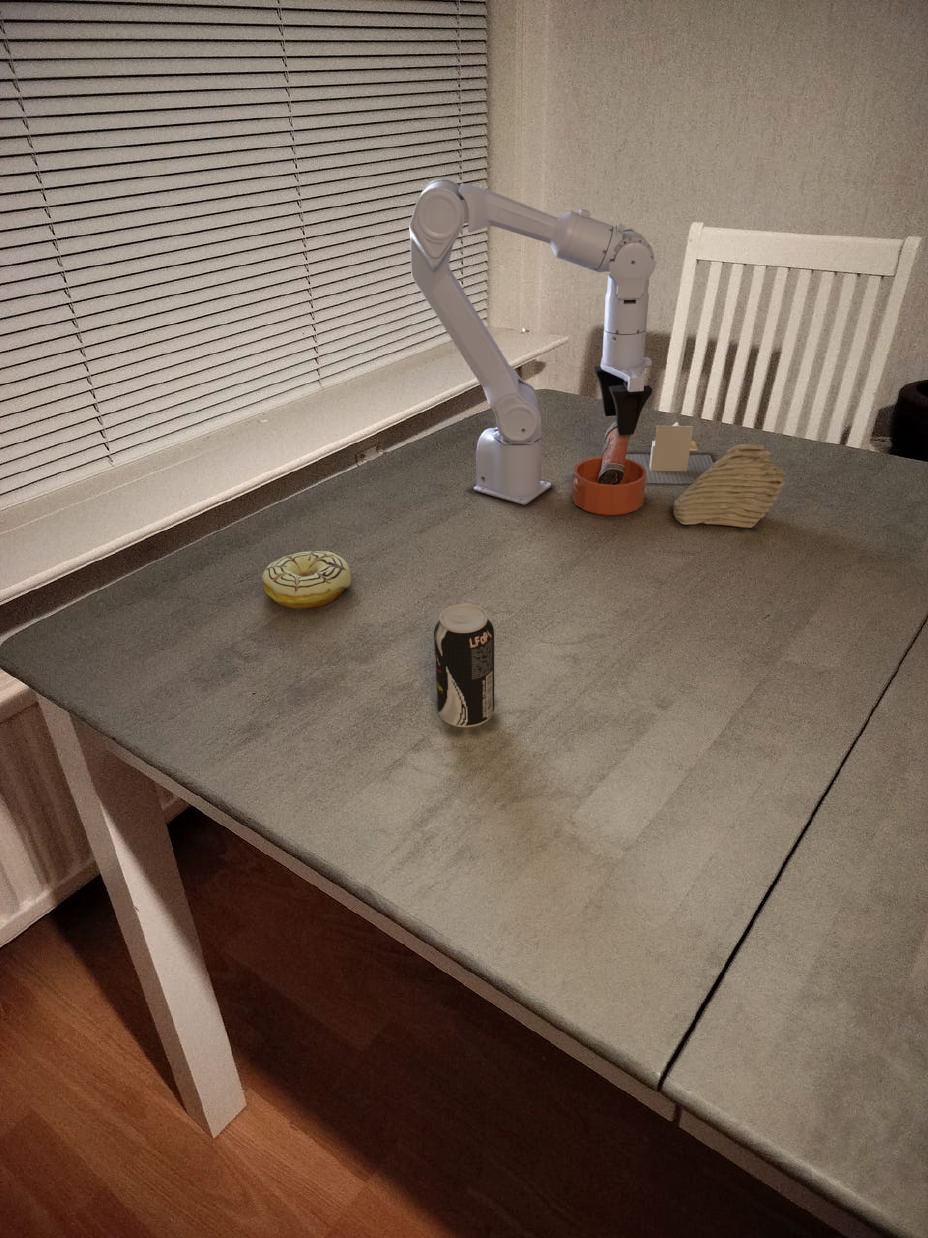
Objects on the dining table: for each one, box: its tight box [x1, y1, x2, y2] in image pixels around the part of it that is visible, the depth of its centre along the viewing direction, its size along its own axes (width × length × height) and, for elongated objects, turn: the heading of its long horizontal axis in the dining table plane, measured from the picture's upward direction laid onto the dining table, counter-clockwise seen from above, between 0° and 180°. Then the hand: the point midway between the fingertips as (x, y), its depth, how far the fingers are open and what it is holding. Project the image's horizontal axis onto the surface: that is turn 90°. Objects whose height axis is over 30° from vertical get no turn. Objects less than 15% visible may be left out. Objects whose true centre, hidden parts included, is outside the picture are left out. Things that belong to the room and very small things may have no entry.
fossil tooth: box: [672, 443, 787, 529], centre depth 114 cm, size 12×6×15 cm
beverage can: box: [433, 603, 495, 728], centre depth 80 cm, size 6×6×12 cm
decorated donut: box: [261, 550, 352, 611], centre depth 103 cm, size 10×11×4 cm
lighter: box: [597, 416, 631, 485], centre depth 122 cm, size 8×3×10 cm
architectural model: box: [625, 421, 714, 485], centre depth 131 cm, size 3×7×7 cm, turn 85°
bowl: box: [571, 456, 647, 517], centre depth 121 cm, size 10×10×5 cm
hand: (618, 424), depth 120 cm, fingers open, 7 cm apart
